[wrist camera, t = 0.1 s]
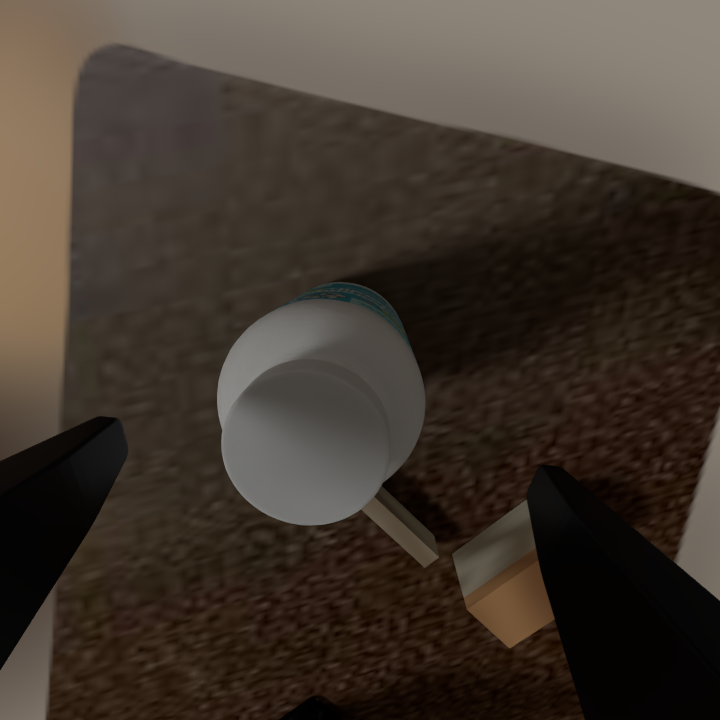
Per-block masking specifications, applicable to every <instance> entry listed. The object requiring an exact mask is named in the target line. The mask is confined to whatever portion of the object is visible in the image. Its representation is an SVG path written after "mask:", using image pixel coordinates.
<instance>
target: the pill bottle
mask: <svg viewBox="0 0 720 720" xmlns="http://www.w3.org/2000/svg"><path fill="white" fill-rule="evenodd" d="M217 406H218V414H219V419H220V423H221V427H222V430H223V431H222V443H221V444H222V455H223V461H224V464H225V467H226V470H227V473H228V475H229V477H230V479H231V481H232V482H233V484H234V485H235V487H236V488H237V490H238V491H239V492H240V493H241V495H242V496H243V497H244V498H245V499H246V500H247V501H248V502H250V503H251V504H252V505H253V506H254V507H256V508H257V509H259V510H260V511H262V512H264V513H265V514H267V515H269V516H271V517H273V518H276V519H278V520H281V521H284V522H288V523H293V524H299V525H323V524H328V523H333V522H336V521H339V520H342V519H345V518H347V517H349V516H351V515H352V514H354V513H356V512H358V511H359V510H360V509H362V508H363V507H364V506H365V505H366V504H368V503H369V502H370V501H371V500H372V498H373V497H374V496H375V495H376V493H377V492H378V491H379V489H380V487H381V485H382V483H383V482H384V481H386V480H387V479H388V478H390V477H391V476H392V475H393V474H394V473H395V472H396V471H397V470H398V469H399V468H400V467H401V466H402V465H403V464H404V462H405V461H406V460H407V458H408V457H409V455H410V454H411V452H412V450H413V449H414V447H415V445H416V442H417V440H418V438H419V435H420V432H421V429H422V425H423V421H424V414H425V391H424V385H423V380H422V376H421V373H420V370H419V367H418V364H417V361H416V359H415V356H414V354H413V351H412V348H411V346H410V343H409V341H408V338H407V335H406V333H405V330H404V327H403V325H402V323H401V321H400V319H399V317H398V315H397V313H396V311H395V310H394V309H393V307H392V306H391V305H390V304H389V302H388V301H387V300H386V299H384V298H383V297H382V296H381V295H380V294H378V293H376V292H375V291H373V290H371V289H370V288H367V287H365V286H362V285H358V284H354V283H347V282H333V283H327V284H323V285H320V286H317V287H315V288H313V289H311V290H309V291H307V292H305V293H303V294H302V295H300V296H298V297H296V298H294V299H292V300H291V301H289V302H288V303H286V304H284V305H283V306H281V307H279V308H277V309H276V310H274V311H272V312H270V313H269V314H267V315H265V316H264V317H262V318H260V319H259V320H258V321H256V322H255V323H254V324H253V325H251V326H250V327H249V328H248V329H247V330H246V331H245V332H244V333H243V334H242V335H241V336H240V338H239V339H238V340H237V341H236V343H235V344H234V345H233V347H232V348H231V350H230V352H229V354H228V356H227V358H226V360H225V362H224V365H223V368H222V371H221V375H220V378H219V383H218V393H217Z"/></svg>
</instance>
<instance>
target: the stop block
mask: <svg viewBox="0 0 720 720" xmlns="http://www.w3.org/2000/svg"><path fill="white" fill-rule="evenodd" d="M452 556H453V560H454V563H455V567H456V571H457V574H458V578H459V582H460V586H461V589H462V593H463V597H464V600H465V604H466V608H467V610H468V611H469V612H470V613H471V614H472V615H474V616H475V617H476V618H477V619H478V620H479V621H480V622H481V623H482V624H483V625H485V626H486V627H487V628H488V629H489V630H490V631H491V632H492V633H493V634H494V635H495V636H497V637H498V638H499V639H500V640H501V641H502V642H503V643H504V644H505V645H506V646H508V647H509V648H511V647H512V646H514V645H515V644H517V643H519V642H520V641H522V640H523V639H525V638H526V637H528V636H529V635H531V634H532V633H534V632H536V631H537V630H539V629H540V628H542V627H543V626H545V625H546V624H548V623H549V622H551V621H553V620H554V615H553V612H552V609H551V605H550V602H549V599H548V595H547V592H546V589H545V585H544V582H543V578H542V575H541V571H540V566H539V562H538V557H537V552H536V546H535V541H534V536H533V531H532V525H531V520H530V515H529V510H528V504H527V499H526V500H525V501H524V502H522V503H521V504H520V505H518V506H517V507H516V508H514V509H513V510H511V511H510V512H509V513H507V514H506V515H505V516H503V517H502V518H501V519H499V520H498V521H496V522H495V523H494V524H492V525H491V526H490V527H488V528H487V529H486V530H484V531H483V532H481V533H480V534H479V535H477V536H476V537H475V538H473V539H472V540H471V541H469V542H468V543H466V544H465V545H464V546H462V547H461V548H460V549H458V550H457V551H456V552H454V553H453V554H452Z"/></svg>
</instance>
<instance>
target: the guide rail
mask: <svg viewBox="0 0 720 720" xmlns="http://www.w3.org/2000/svg"><path fill="white" fill-rule="evenodd" d="M361 510H362V511H364V512H365V513H366V514H367V515H368V516H369V517H370V518H371V519H372V520H373V521H374V522H376V523H377V524H378V525H379V526H380V527H381V528H382V529H383V530H384V531H385V532H386V533H388V534H389V535H390V536H391V537H392V538H393V539H394V540H395V541H396V542H397V543H398V544H400V545H401V546H402V547H403V548H404V549H405V550H406V551H407V552H408V553H409V554H410V555H412V556H413V557H414V558H415V559H416V560H417V561H418V562H419V563H420V564H421V565H422V566H424V567H426V566H428V565H429V564H430V563H432V562H433V561H435V560H436V559H437V558H439V555H438V550H437V546H436V541H435V537H434V535H433V534H432V533H431V532H430V531H429V530H428V529H427V528H426V527H425V526H424V525H423V524H422V523H420V522H419V521H418V520H417V519H416V518H415V517H414V516H413V515H412V514H411V513H410V512H409V511H408V510H407V509H406V508H405V507H404V506H402V505H401V504H400V503H399V502H398V501H397V500H396V499H395V498H394V497H393V496H392V495H391V494H390V493H389V492H388V491H387V490H385V489H384V488H383V487H382V486H381V487H380V489H379V491H378V492H377V493H376V495H375V496H374V497H373V498H372V500H371V501H370V502H369V503H368V504H366V505H365V506H364V507H363V508H362V509H361Z"/></svg>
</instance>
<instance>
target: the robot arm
mask: <svg viewBox="0 0 720 720" xmlns="http://www.w3.org/2000/svg"><path fill="white" fill-rule="evenodd" d="M127 454H128V444H127V440H126V436H125V433H124V429H123V425H122V422H121V421H120V420H119V419H118V418H113V417H104V416H99V417H95V418H93V419H91V420H89V421H86V422H84V423H82V424H80V425H78V426H76V427H73V428H71V429H69V430H67V431H65V432H62V433H60V434H58V435H56V436H54V437H52V438H49V439H47V440H46V441H43V442H41V443H39V444H36V445H34V446H32V447H30V448H28V449H26V450H24V451H21V452H19V453H17V454H15V455H12V456H10V457H8V458H6V459H4V460H1V461H0V670H1V668H2V667H3V665H4V664H5V662H6V660H7V659H8V657H9V656H10V654H11V653H12V651H13V649H14V648H15V646H16V645H17V643H18V642H19V640H20V638H21V637H22V635H23V634H24V632H25V630H26V629H27V627H28V626H29V624H30V623H31V621H32V619H33V618H34V616H35V614H36V613H37V611H38V610H39V608H40V607H41V605H42V604H43V602H44V600H45V599H46V597H47V596H48V594H49V593H50V591H51V590H52V588H53V586H54V585H55V583H56V582H57V580H58V579H59V577H60V575H61V574H62V572H63V571H64V569H65V567H66V566H67V564H68V563H69V561H70V560H71V558H72V556H73V555H74V553H75V552H76V550H77V549H78V547H79V545H80V544H81V542H82V541H83V539H84V538H85V536H86V534H87V533H88V531H89V529H90V528H91V526H92V524H93V523H94V521H95V519H96V517H97V515H98V514H99V512H100V510H101V508H102V506H103V504H104V502H105V500H106V498H107V496H108V494H109V492H110V490H111V488H112V486H113V484H114V482H115V480H116V478H117V476H118V474H119V472H120V470H121V468H122V466H123V464H124V462H125V460H126V458H127ZM527 504H528V510H529V515H530V520H531V525H532V531H533V536H534V541H535V546H536V552H537V557H538V562H539V566H540V571H541V575H542V578H543V582H544V585H545V589H546V592H547V595H548V599H549V602H550V605H551V609H552V612H553V615H554V619H555V622H556V625H557V628H558V632H559V635H560V638H561V642H562V645H563V648H564V652H565V655H566V658H567V662H568V665H569V668H570V671H571V675H572V678H573V681H574V685H575V688H576V691H577V695H578V698H579V701H580V705H581V708H582V711H583V714H584V718H585V720H720V601H719V600H718V599H717V598H716V597H715V596H714V595H712V594H711V593H710V592H709V591H708V590H706V589H705V588H704V587H703V586H701V585H700V584H699V583H698V582H697V581H696V580H695V579H693V578H692V577H691V576H690V575H688V574H687V573H686V572H685V571H684V570H683V569H681V568H680V567H679V566H678V565H677V564H676V563H674V562H673V561H672V560H671V559H670V558H669V557H667V556H666V555H665V554H664V553H663V552H661V551H660V550H659V549H658V548H657V547H655V546H654V545H653V544H652V543H651V542H650V541H648V540H647V539H646V538H645V537H644V536H642V535H641V534H640V533H639V532H638V531H637V530H635V529H634V528H633V527H632V526H631V525H629V524H628V523H627V522H626V521H625V520H624V519H622V518H621V517H620V516H619V515H618V514H616V513H615V512H614V511H613V510H612V509H610V508H609V507H608V506H607V505H606V504H605V503H603V502H602V501H601V500H600V499H599V498H597V497H596V496H595V495H594V494H593V493H592V492H590V491H589V490H588V489H587V488H586V487H584V486H583V485H582V484H581V483H580V482H578V481H577V480H576V479H575V478H574V477H573V476H571V475H570V474H569V473H568V472H567V471H565V470H564V469H563V468H561V467H559V466H551V465H541V466H539V467H538V469H537V471H536V473H535V475H534V478H533V480H532V482H531V484H530V487H529V489H528V492H527ZM280 720H341V719H340V718H338V717H337V716H336V715H334V714H333V713H332V712H331V711H329V710H328V709H327V708H325V707H324V706H323V705H321V704H320V703H319V702H318V701H316V700H314V699H309V700H307V701H306V702H305V703H303V704H302V705H300V706H299V707H297V708H296V709H295V710H293V711H292V712H290V713H289V714H288V715H286V716H285V717H283V718H282V719H280Z"/></svg>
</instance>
